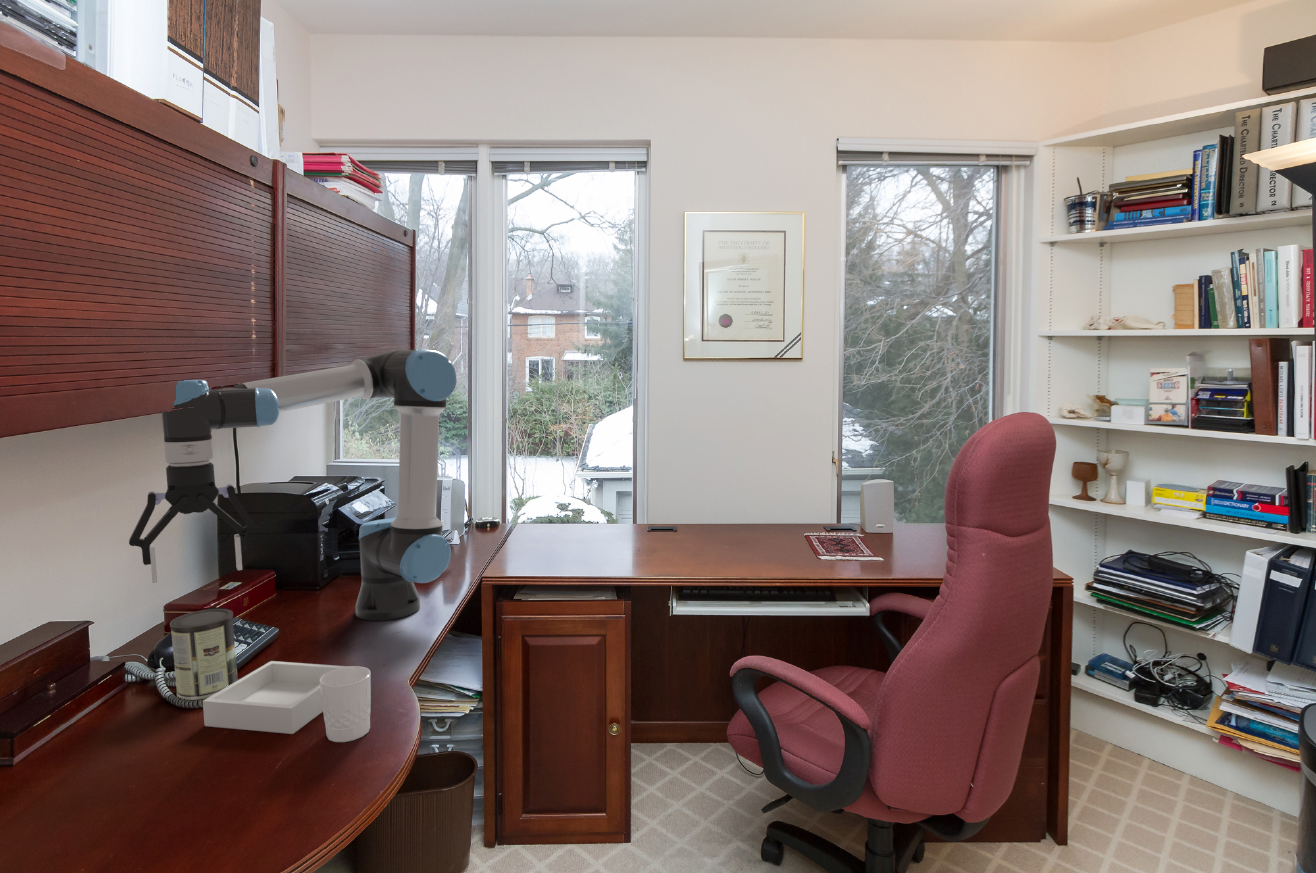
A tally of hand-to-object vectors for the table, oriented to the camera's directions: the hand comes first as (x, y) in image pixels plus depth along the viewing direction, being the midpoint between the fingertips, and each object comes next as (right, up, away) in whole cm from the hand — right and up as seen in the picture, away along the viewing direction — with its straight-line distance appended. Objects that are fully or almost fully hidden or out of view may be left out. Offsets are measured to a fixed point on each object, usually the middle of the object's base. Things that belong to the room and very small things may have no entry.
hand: (198, 574), depth 140 cm
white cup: (+35, -24, -15) cm, 45 cm away
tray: (+19, -23, -5) cm, 30 cm away
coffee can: (0, -23, +3) cm, 23 cm away
